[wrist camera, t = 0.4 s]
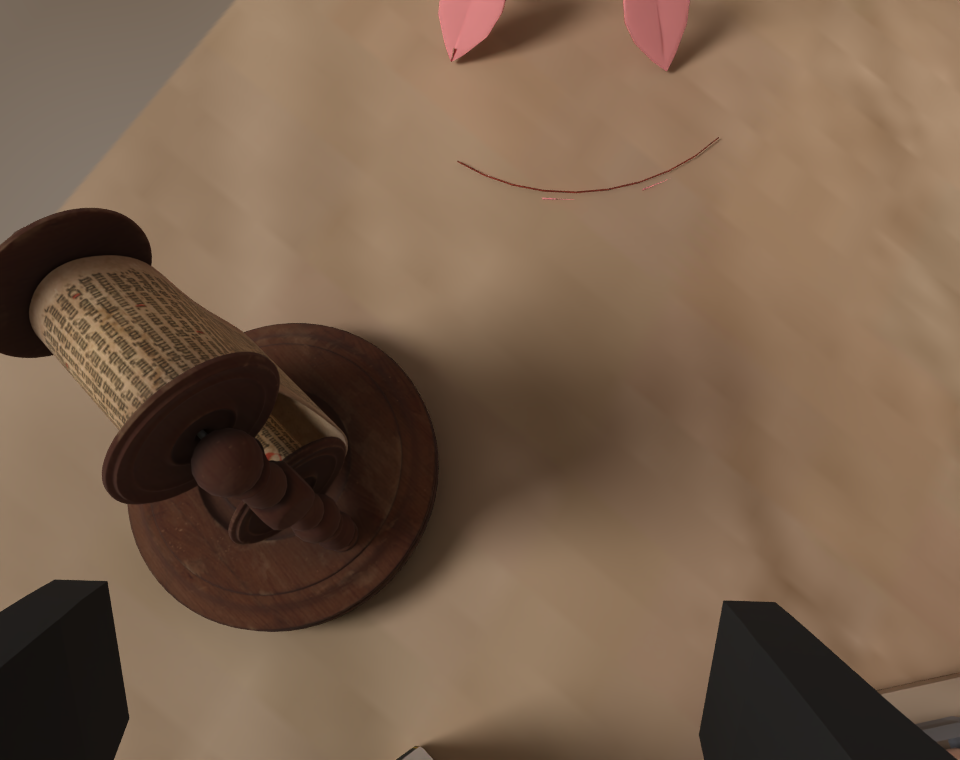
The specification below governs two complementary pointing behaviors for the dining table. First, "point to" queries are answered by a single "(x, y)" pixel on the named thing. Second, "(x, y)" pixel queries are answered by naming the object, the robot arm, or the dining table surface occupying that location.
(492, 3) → the figurine
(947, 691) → the panel
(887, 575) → the dining table surface
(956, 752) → the tile three
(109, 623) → the robot arm
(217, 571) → the dark brown tall piece
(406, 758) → the medicine bottle
